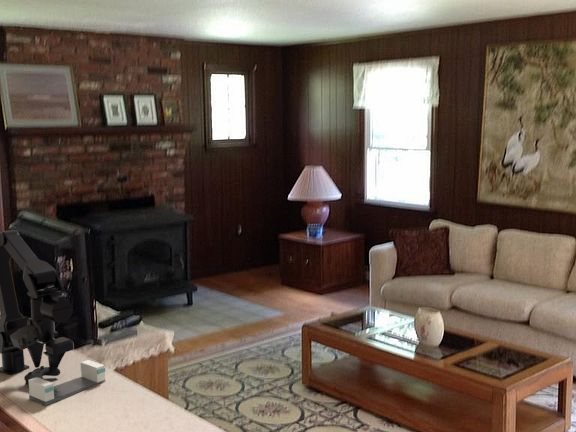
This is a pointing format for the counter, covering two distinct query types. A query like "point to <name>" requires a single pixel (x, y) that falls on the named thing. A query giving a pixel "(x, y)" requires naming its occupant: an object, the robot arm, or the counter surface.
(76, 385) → the rail plate
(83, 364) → the mounted modules
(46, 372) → the game controller
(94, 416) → the counter surface
